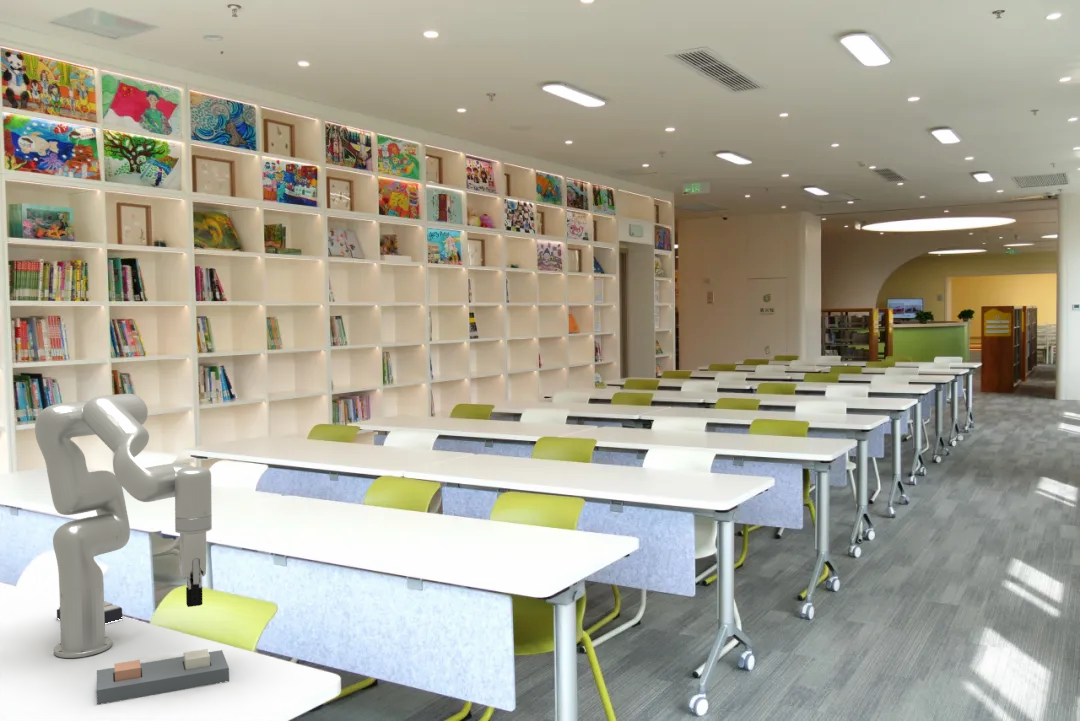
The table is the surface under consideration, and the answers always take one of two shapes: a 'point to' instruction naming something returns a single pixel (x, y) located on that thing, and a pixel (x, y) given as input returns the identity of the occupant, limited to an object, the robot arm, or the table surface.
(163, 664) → the key panel
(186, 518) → the robot arm
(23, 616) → the table surface
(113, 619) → the calculator
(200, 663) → the cream key
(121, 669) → the terracotta key
